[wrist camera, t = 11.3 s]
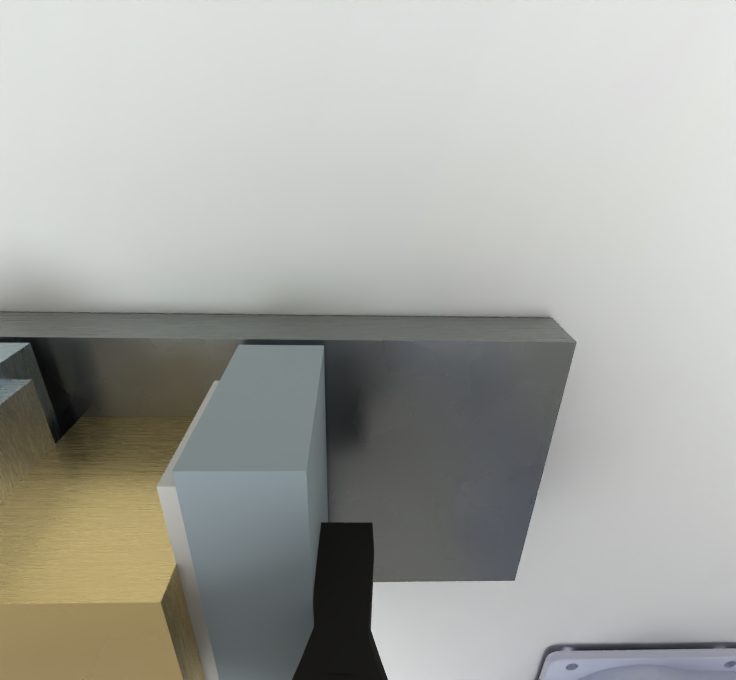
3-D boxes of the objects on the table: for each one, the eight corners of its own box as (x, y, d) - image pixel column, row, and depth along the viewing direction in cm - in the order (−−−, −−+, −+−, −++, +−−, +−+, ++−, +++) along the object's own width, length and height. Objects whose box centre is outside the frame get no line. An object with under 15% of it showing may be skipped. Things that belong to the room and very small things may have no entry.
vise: (552, 318, 12) (706, 470, 7) (501, 542, 16) (574, 750, 11) (-41, 311, 12) (-380, 472, 6) (57, 545, 16) (-100, 766, 10)
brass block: (235, 417, 12) (160, 602, 7) (251, 534, 14) (200, 737, 9) (80, 417, 11) (-97, 605, 7) (118, 535, 13) (0, 742, 9)
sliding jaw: (324, 345, 10) (306, 471, 7) (329, 590, 14) (320, 756, 11) (221, 344, 10) (144, 471, 7) (255, 591, 14) (220, 759, 11)
